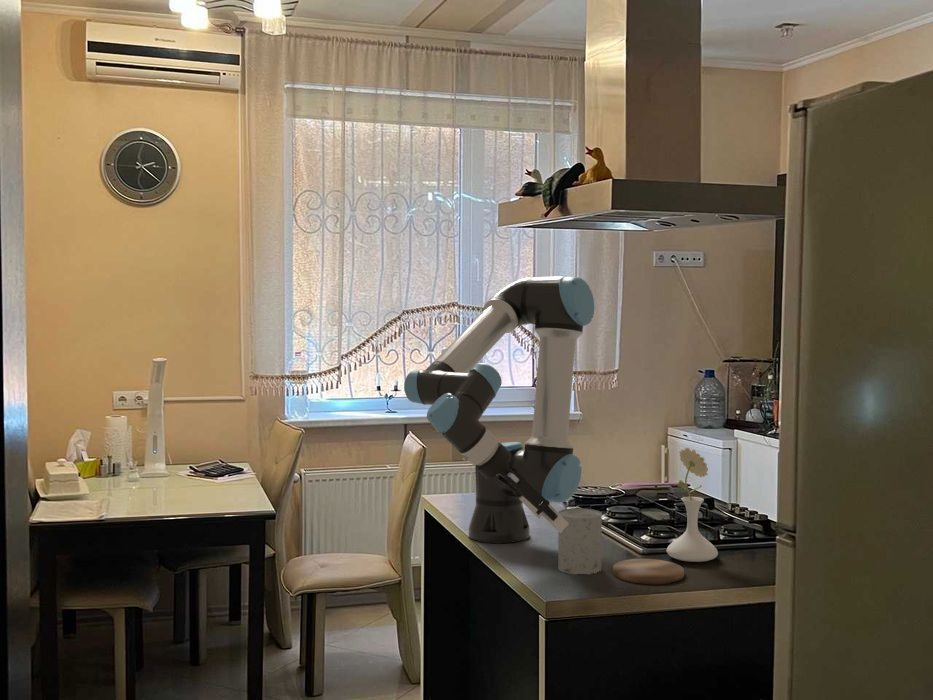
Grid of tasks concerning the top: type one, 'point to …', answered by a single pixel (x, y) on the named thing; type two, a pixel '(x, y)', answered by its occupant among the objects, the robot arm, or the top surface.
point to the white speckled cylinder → (580, 541)
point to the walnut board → (648, 571)
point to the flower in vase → (692, 517)
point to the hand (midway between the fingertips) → (553, 520)
